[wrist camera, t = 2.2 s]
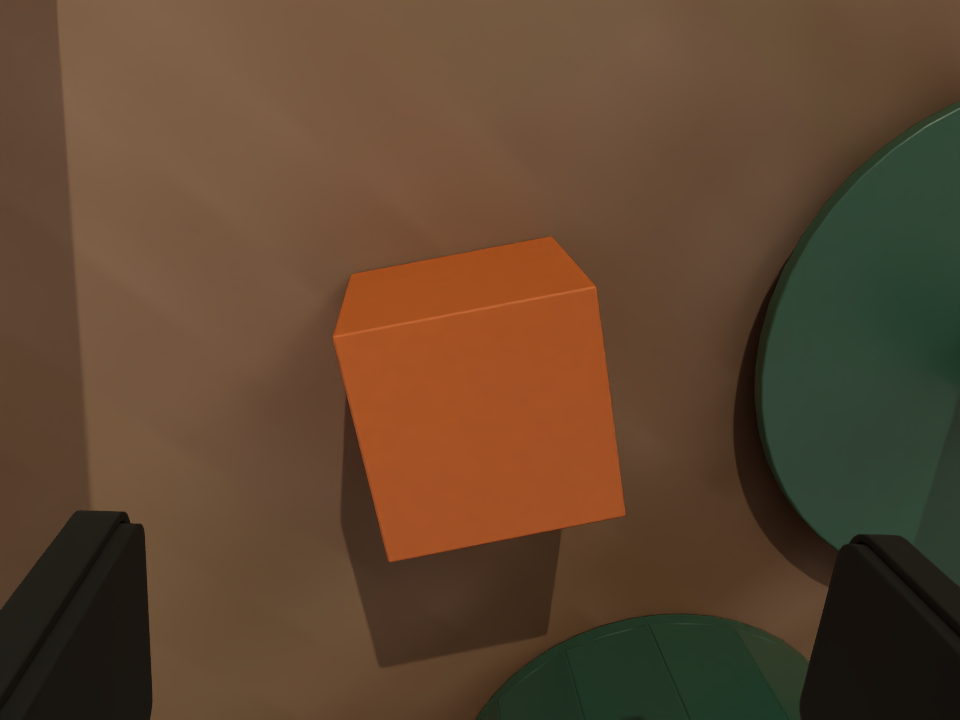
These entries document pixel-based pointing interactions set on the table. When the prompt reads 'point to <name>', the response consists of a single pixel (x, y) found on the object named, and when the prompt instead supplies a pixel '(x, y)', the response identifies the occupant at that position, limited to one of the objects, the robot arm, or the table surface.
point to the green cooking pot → (658, 674)
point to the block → (480, 397)
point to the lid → (873, 353)
